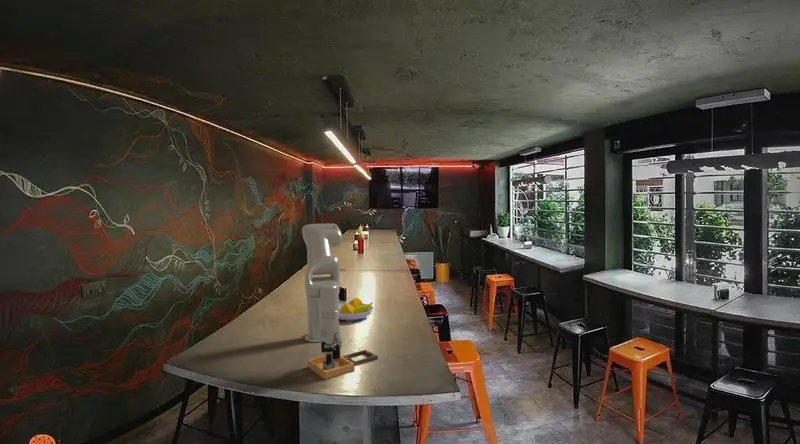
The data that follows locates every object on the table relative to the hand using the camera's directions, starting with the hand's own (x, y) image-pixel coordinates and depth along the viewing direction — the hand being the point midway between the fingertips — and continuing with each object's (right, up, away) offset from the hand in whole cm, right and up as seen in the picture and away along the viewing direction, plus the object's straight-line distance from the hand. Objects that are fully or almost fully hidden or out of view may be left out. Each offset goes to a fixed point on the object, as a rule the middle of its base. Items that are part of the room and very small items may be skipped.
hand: (330, 355), depth 162 cm
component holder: (+11, -5, +10) cm, 16 cm away
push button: (0, -6, 0) cm, 6 cm away
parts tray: (0, -6, 0) cm, 6 cm away
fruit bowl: (0, -3, +75) cm, 75 cm away
